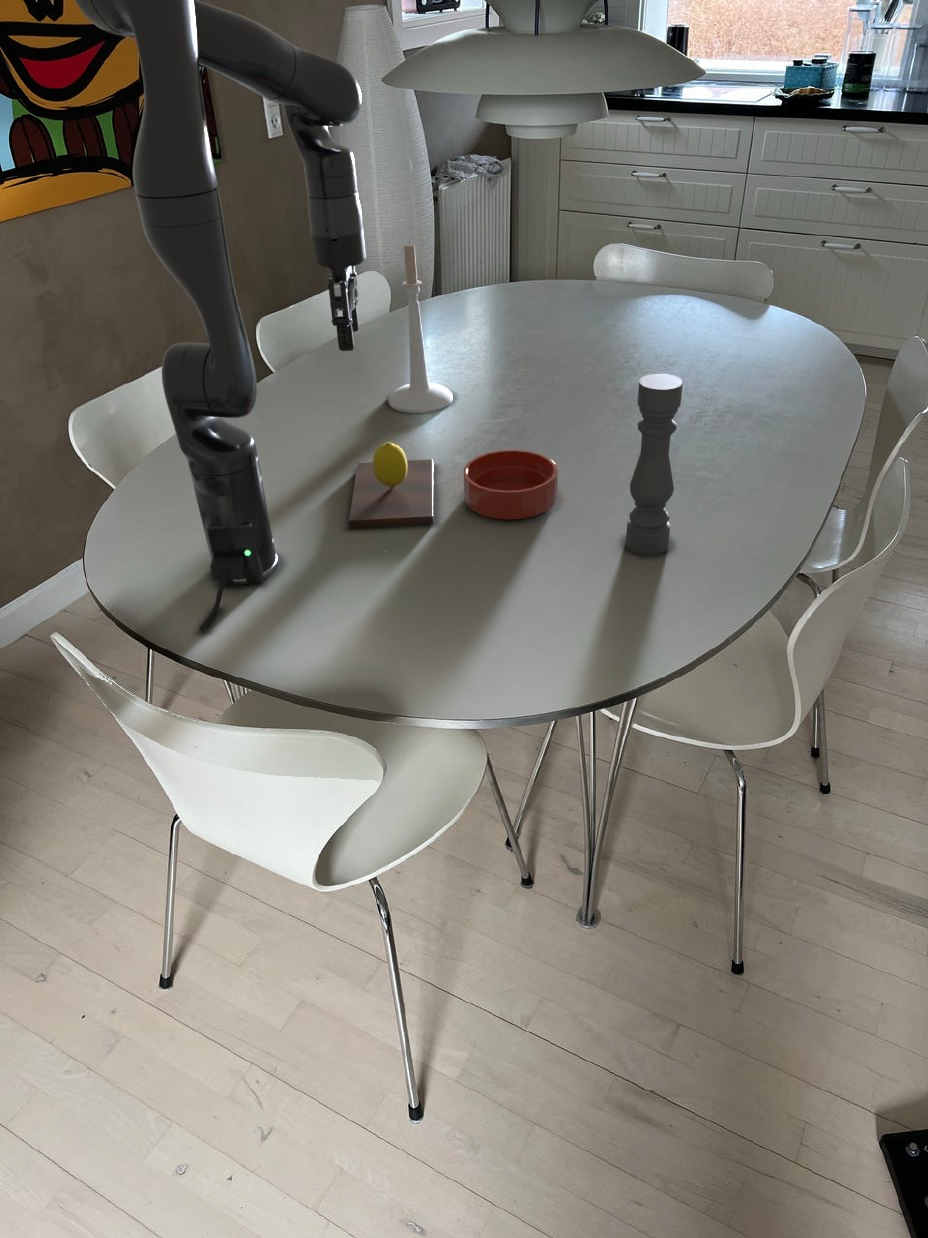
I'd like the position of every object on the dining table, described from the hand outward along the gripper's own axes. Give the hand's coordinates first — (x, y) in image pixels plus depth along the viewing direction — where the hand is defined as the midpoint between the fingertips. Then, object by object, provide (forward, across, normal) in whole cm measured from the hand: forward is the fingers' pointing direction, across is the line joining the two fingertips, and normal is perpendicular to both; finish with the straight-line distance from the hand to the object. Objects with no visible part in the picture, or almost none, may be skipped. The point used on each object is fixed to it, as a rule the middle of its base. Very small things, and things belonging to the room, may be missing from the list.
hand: (349, 340), depth 141 cm
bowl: (+25, +7, +24) cm, 35 cm away
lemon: (+23, +4, +5) cm, 24 cm away
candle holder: (+25, +23, +43) cm, 55 cm away
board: (+25, +4, +5) cm, 26 cm away
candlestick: (+25, -36, +8) cm, 44 cm away
